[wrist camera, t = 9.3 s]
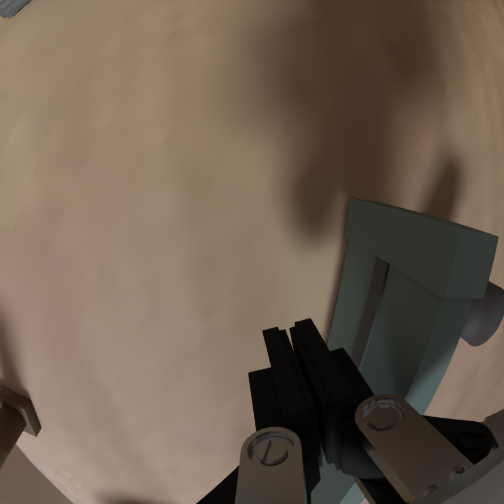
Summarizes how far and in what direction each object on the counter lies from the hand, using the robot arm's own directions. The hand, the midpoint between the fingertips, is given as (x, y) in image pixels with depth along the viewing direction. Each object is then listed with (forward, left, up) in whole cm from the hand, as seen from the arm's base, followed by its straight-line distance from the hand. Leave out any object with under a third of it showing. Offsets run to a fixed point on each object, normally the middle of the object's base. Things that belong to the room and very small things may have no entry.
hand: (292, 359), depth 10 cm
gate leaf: (+3, +3, -3) cm, 6 cm away
